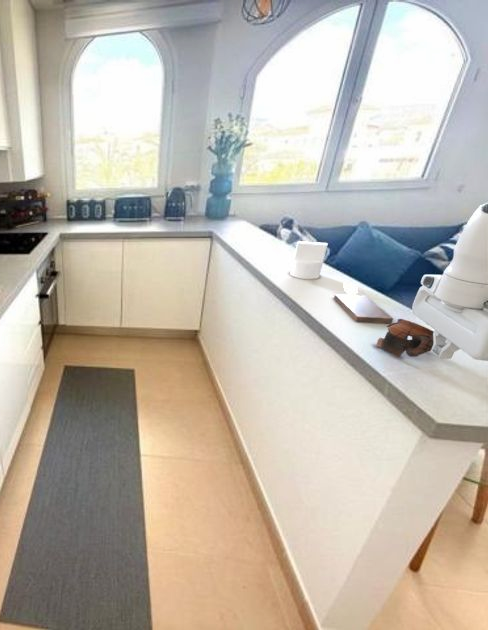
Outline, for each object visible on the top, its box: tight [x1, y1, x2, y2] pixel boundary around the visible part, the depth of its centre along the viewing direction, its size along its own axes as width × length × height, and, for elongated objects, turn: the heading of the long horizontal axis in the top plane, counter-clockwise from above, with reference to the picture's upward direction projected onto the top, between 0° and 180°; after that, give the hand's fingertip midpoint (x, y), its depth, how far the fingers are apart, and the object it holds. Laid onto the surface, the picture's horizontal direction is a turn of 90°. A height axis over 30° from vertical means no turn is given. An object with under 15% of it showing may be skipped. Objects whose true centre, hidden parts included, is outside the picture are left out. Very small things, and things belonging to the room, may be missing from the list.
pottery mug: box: [375, 318, 434, 358], centre depth 79 cm, size 12×10×8 cm
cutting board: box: [333, 293, 394, 324], centre depth 99 cm, size 8×16×2 cm, turn 163°
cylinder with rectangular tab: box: [289, 240, 329, 280], centre depth 124 cm, size 9×9×12 cm
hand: (440, 354), depth 69 cm, fingers closed
